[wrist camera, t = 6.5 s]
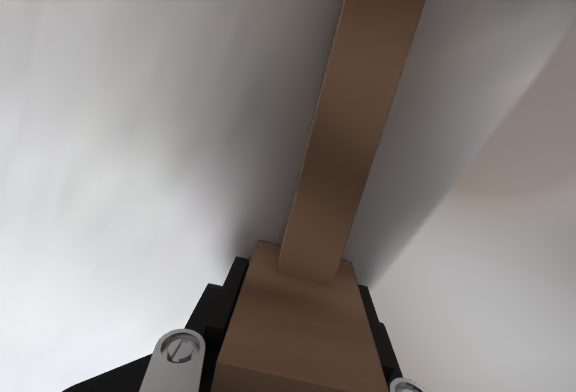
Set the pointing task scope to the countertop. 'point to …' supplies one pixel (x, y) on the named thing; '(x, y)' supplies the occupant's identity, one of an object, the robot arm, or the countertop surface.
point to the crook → (323, 227)
